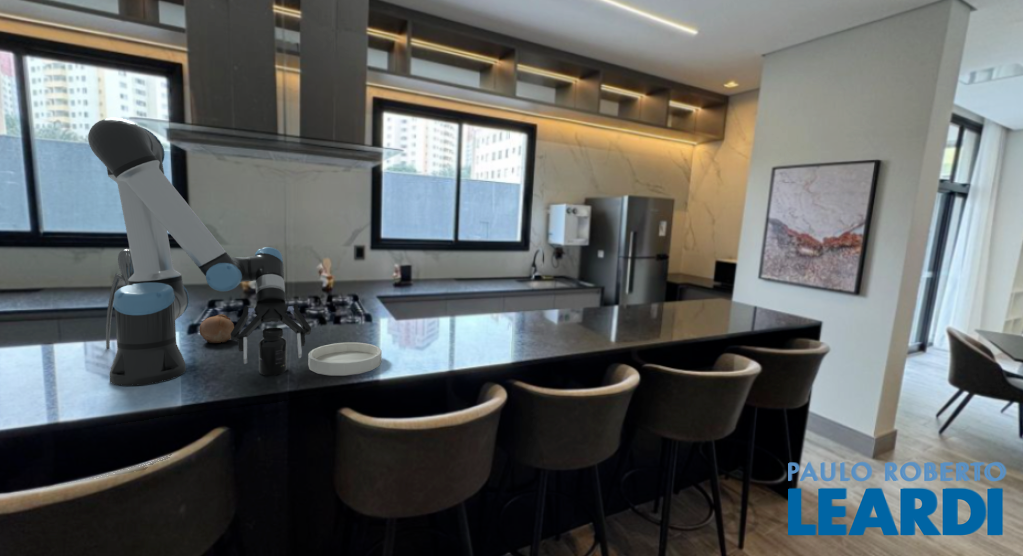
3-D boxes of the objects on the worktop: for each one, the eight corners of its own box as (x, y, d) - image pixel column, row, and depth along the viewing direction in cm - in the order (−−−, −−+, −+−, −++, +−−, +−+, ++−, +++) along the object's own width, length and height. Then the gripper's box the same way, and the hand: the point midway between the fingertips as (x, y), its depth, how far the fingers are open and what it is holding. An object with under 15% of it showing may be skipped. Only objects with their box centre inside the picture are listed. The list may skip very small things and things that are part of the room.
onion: (224, 347, 147) (234, 318, 151) (232, 346, 141) (242, 316, 144) (192, 341, 141) (202, 311, 145) (198, 339, 135) (209, 308, 138)
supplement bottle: (253, 374, 118) (252, 330, 116) (272, 366, 124) (271, 325, 123) (274, 377, 116) (273, 333, 115) (292, 369, 123) (292, 328, 121)
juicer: (105, 347, 132) (99, 249, 128) (149, 339, 141) (144, 247, 137) (121, 353, 127) (114, 251, 123) (165, 345, 137) (160, 250, 133)
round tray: (313, 379, 116) (313, 366, 116) (305, 357, 133) (305, 346, 133) (388, 370, 126) (388, 358, 126) (372, 350, 143) (372, 340, 143)
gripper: (314, 298, 137) (321, 359, 126) (221, 302, 125) (220, 370, 114) (316, 284, 132) (323, 347, 121) (220, 287, 120) (218, 356, 109)
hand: (273, 358), depth 117 cm, fingers open, 12 cm apart
